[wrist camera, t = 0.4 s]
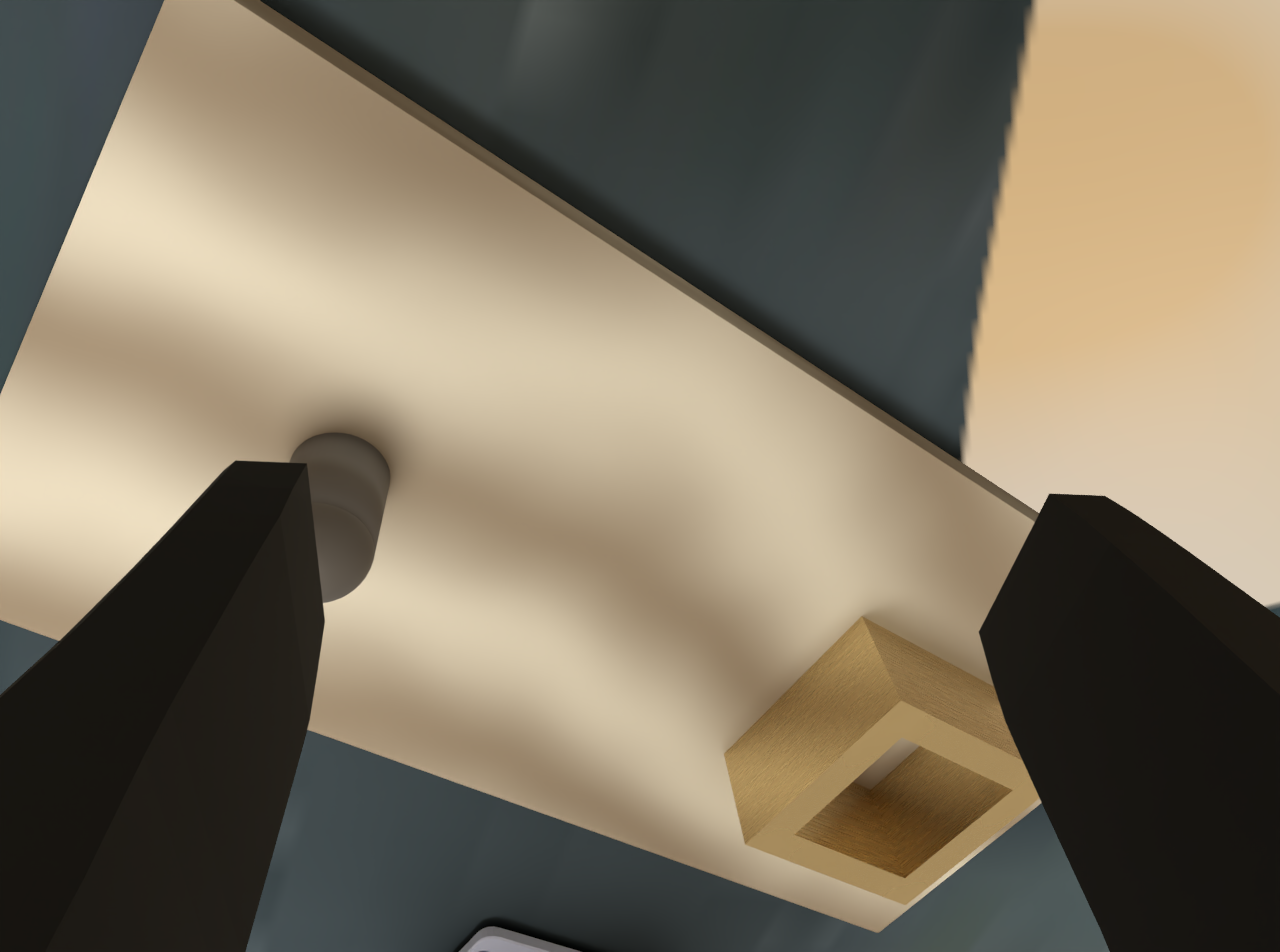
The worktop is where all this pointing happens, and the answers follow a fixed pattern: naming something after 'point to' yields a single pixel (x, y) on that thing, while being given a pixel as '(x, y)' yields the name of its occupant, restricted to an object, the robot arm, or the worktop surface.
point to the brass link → (852, 741)
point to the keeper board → (472, 449)
